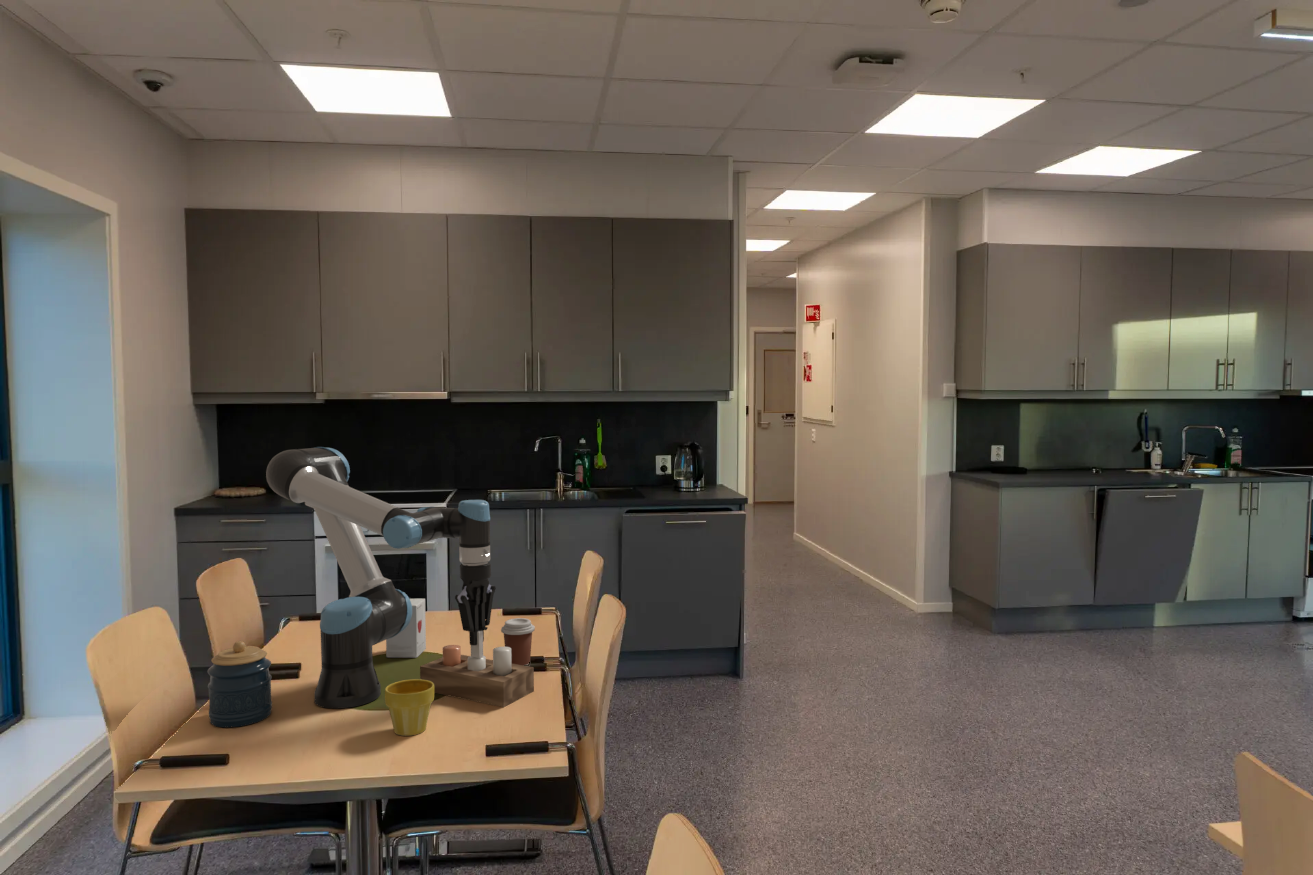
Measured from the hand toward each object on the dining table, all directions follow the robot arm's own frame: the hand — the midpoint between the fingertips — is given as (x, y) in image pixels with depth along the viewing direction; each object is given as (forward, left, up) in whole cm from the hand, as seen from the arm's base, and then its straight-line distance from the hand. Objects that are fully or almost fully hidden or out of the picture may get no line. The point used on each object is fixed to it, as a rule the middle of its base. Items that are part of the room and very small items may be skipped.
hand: (477, 656), depth 203 cm
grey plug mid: (0, 0, -7) cm, 7 cm away
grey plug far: (0, -8, -4) cm, 9 cm away
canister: (-38, +37, -9) cm, 54 cm away
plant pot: (-26, -3, -9) cm, 28 cm away
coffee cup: (+21, +3, -9) cm, 23 cm away
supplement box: (+15, +38, -9) cm, 42 cm away
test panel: (0, 0, -9) cm, 9 cm away
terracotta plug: (0, +8, -6) cm, 10 cm away
